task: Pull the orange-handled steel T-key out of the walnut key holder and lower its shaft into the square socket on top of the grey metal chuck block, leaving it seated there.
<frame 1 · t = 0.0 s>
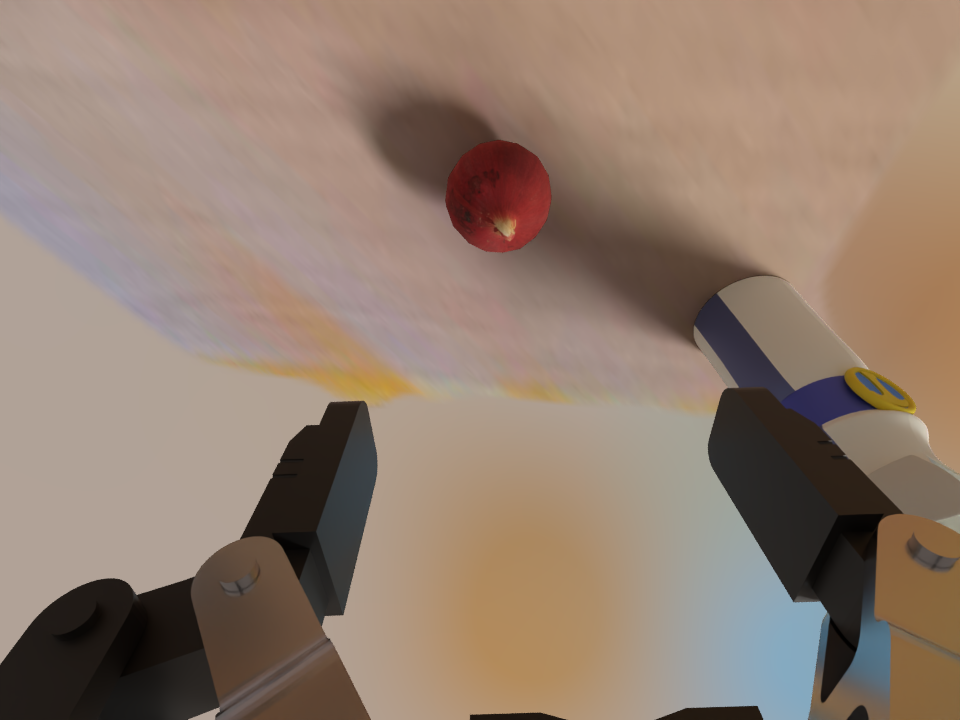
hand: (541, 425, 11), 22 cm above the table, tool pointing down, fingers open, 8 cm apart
onion: (495, 175, 29), on the table
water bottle: (742, 316, 36), on the table
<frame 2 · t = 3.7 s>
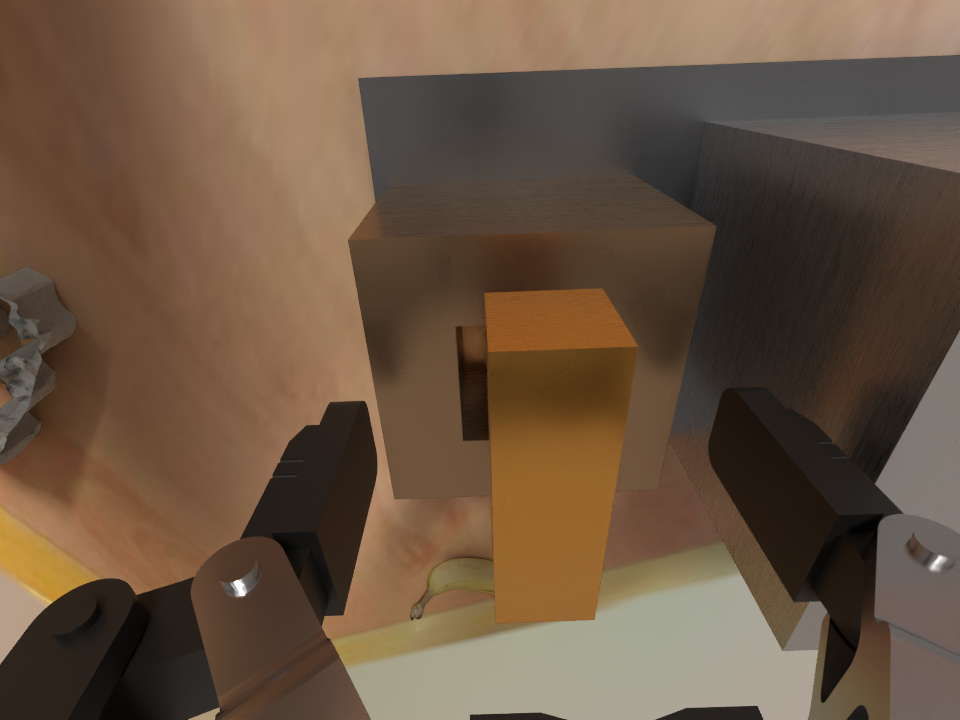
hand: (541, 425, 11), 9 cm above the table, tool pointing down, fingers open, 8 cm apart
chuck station: (672, 272, 19), on the table
banana: (483, 561, 28), on the table
key: (515, 317, 16), point 3 cm above the table, touching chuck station
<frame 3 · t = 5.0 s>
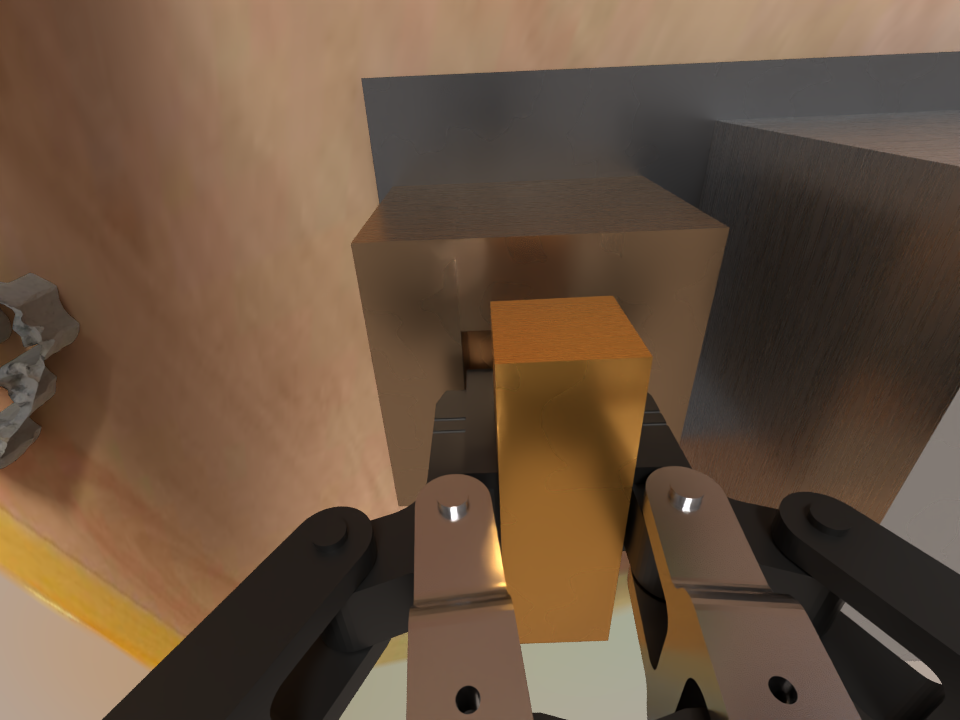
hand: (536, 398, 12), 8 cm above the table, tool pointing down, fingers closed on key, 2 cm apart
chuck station: (681, 274, 18), on the table
key: (522, 325, 15), point 4 cm above the table, touching gripper
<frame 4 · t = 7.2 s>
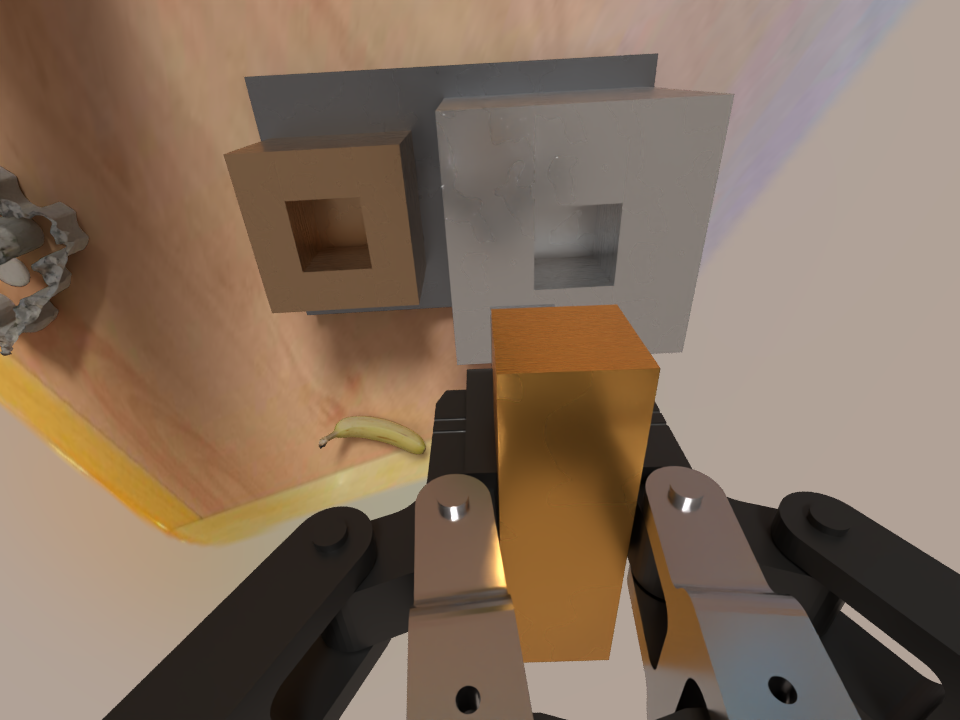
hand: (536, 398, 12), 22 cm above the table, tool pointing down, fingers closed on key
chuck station: (460, 195, 30), on the table
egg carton: (19, 247, 31), on the table
banana: (380, 421, 40), on the table
key: (521, 334, 15), point 18 cm above the table, touching gripper
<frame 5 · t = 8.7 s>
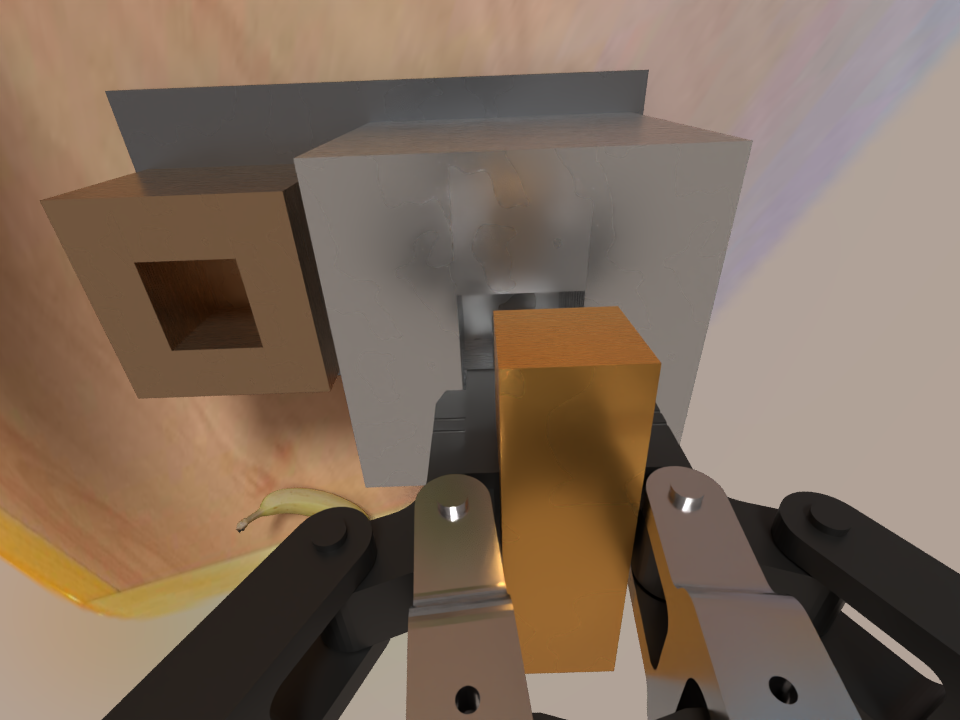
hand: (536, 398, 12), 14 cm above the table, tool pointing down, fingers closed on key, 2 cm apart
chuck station: (401, 240, 24), on the table
banana: (319, 492, 34), on the table
key: (523, 344, 15), point 10 cm above the table, touching gripper
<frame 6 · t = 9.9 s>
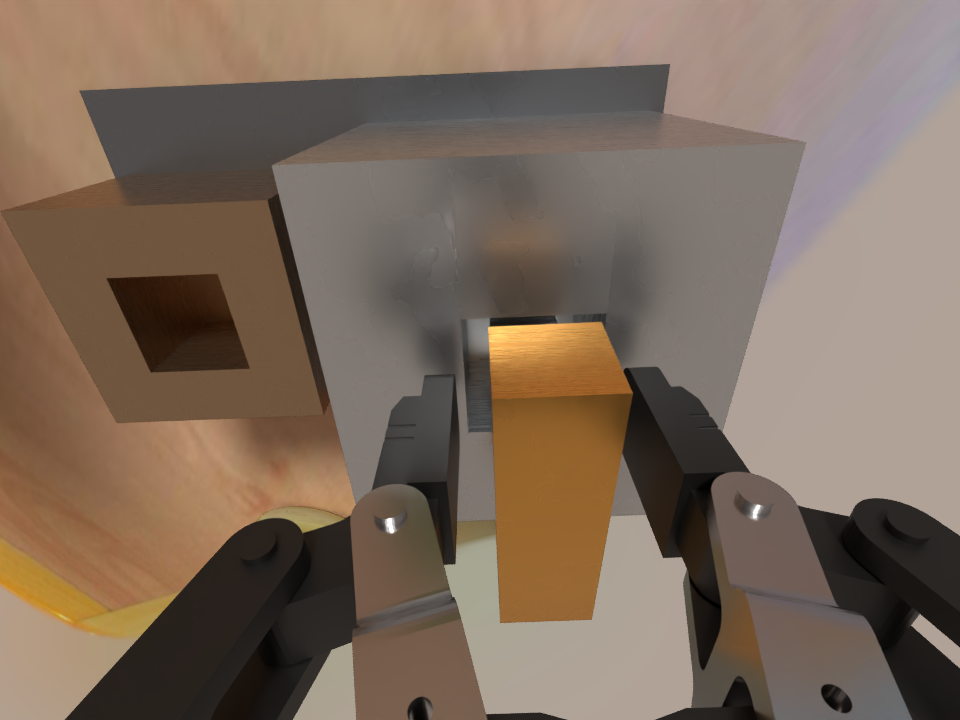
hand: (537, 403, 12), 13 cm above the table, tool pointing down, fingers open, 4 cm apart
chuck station: (401, 248, 22), on the table
banana: (317, 511, 32), on the table
key: (518, 322, 16), point 8 cm above the table, touching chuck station
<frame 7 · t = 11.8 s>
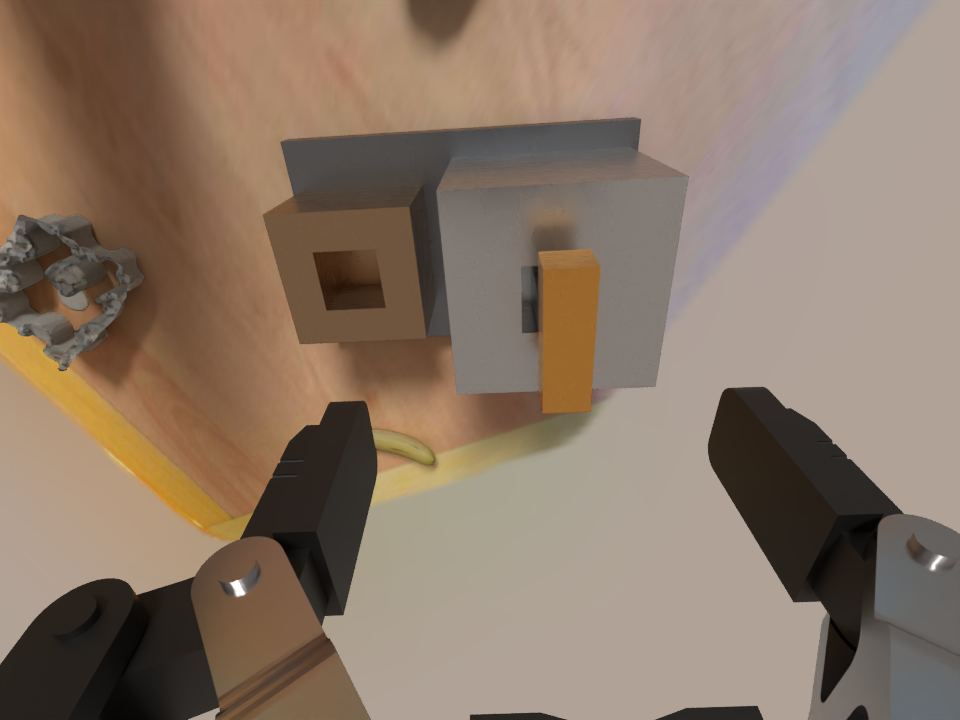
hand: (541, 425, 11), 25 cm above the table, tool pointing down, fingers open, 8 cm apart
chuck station: (466, 237, 34), on the table
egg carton: (83, 278, 36), on the table
banana: (394, 434, 44), on the table
key: (548, 276, 27), point 7 cm above the table, touching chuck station
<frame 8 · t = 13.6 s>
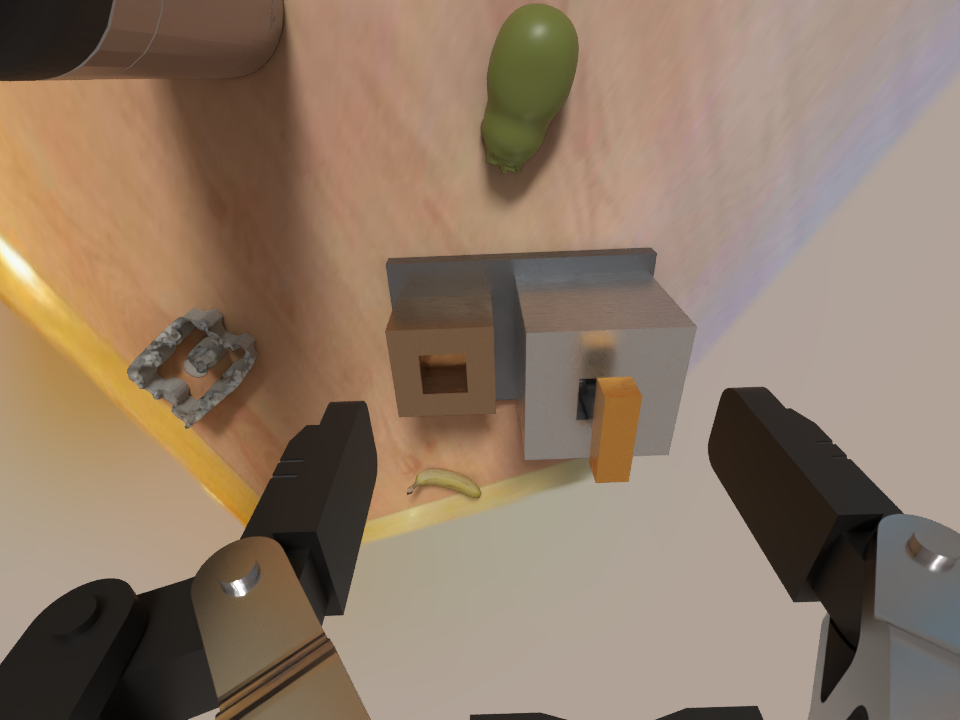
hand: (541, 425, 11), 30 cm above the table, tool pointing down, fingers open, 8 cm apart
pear: (520, 95, 34), on the table
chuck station: (519, 327, 43), on the table
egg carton: (205, 353, 45), on the table
banana: (446, 472, 53), on the table
key: (590, 372, 37), point 7 cm above the table, touching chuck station
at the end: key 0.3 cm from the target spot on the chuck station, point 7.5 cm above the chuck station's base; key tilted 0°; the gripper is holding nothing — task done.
